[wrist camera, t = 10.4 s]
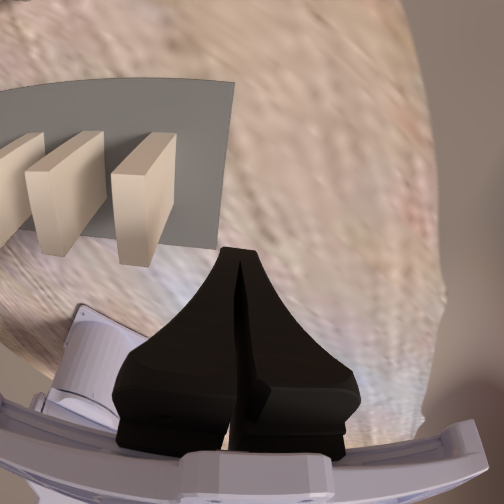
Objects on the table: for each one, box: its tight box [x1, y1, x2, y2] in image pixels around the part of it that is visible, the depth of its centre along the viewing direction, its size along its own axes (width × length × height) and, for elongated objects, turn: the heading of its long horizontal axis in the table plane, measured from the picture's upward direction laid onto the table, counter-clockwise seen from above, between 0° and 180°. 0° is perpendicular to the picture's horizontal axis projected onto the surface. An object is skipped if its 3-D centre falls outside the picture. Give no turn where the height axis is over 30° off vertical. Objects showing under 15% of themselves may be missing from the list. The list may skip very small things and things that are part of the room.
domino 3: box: [111, 132, 177, 267], centre depth 17 cm, size 2×5×7 cm, turn 172°
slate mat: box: [0, 78, 235, 250], centre depth 19 cm, size 28×12×1 cm, turn 82°
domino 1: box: [0, 132, 46, 248], centre depth 16 cm, size 2×5×7 cm, turn 172°
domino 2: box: [24, 131, 107, 257], centre depth 17 cm, size 2×5×7 cm, turn 172°
